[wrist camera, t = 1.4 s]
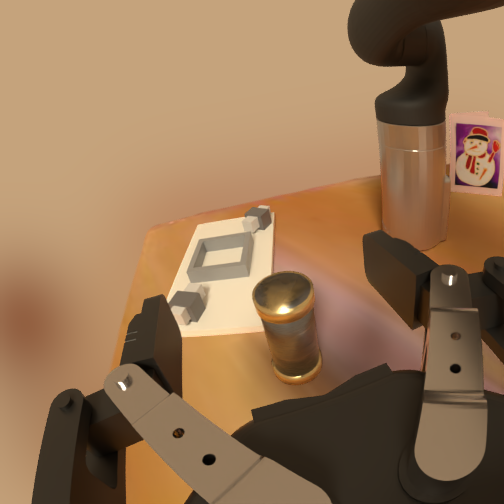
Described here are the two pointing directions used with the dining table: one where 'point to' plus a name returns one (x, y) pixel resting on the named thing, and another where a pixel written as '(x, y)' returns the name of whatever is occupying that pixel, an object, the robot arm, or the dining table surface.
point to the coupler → (289, 325)
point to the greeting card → (476, 153)
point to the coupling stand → (224, 275)
